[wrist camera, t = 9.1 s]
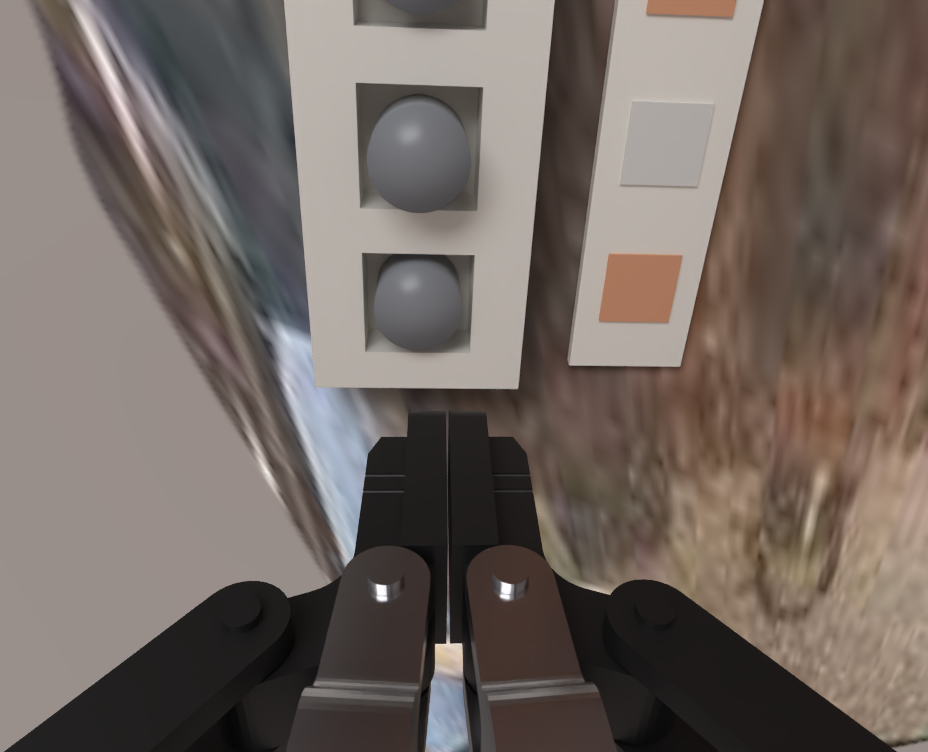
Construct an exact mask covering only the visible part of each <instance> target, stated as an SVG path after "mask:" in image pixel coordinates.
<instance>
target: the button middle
mask: <svg viewBox="0 0 928 752" xmlns="http://www.w3.org/2000/svg"><path fill="white" fill-rule="evenodd" d="M470 167H471V156H470V150H469V146H468V141H467V137H466V133H465V129H464V126H463V124H462V121H461V120H460V118H459V116H458V115H457V113H456V112H455V111H454V110H453V109H452V108H451V107H450V106H449V105H448V104H446V103H445V102H444V101H442V100H440V99H438V98H435V97H433V96H429V95H423V94H413V95H407V96H404V97H401V98H399V99H397V100H395V101H393V102H392V103H391V104H389V105H388V106H387V107H386V108H385V109H384V110H383V111H382V113H381V114H380V116H379V117H378V119H377V121H376V123H375V126H374V129H373V133H372V136H371V140H370V143H369V147H368V152H367V168H368V172H369V176H370V179H371V181H372V183H373V185H374V187H375V189H376V190H377V192H378V193H379V194H380V195H381V196H382V197H383V198H384V199H385V200H386V201H387V202H388V203H390V204H391V205H393V206H394V207H396V208H398V209H401V210H403V211H407V212H411V213H428V212H433V211H436V210H439V209H441V208H443V207H445V206H447V205H448V204H450V203H451V202H452V201H454V200H455V199H456V198H457V197H458V195H459V194H460V193H461V191H462V190H463V188H464V187H465V185H466V183H467V180H468V177H469V173H470Z"/></svg>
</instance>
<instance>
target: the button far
mask: <svg viewBox="0 0 928 752" xmlns="http://www.w3.org/2000/svg"><path fill="white" fill-rule="evenodd" d="M374 318H375V322H376V324H377V326H378V328H379V330H380V331H381V333H382V334H383V335H384V336H385V337H386V338H387V339H388V340H389V341H390V342H392V343H394V344H395V345H397V346H399V347H402V348H405V349H409V350H427V349H432V348H435V347H437V346H440V345H441V344H443V343H445V342H446V341H447V340H449V339H450V338H451V337H452V336H453V334H454V333H455V332H456V330H457V329H458V327H459V324H460V322H461V318H462V302H461V293H460V283H459V277H458V273H457V270H456V268H455V266H454V265H453V263H452V262H451V261H450V260H449V258H447V257H446V256H445V255H443V254H392V255H391V256H390V257H389V258H388V259H387V260H386V261H385V262H384V264H383V265H382V267H381V269H380V272H379V275H378V280H377V287H376V294H375V301H374Z"/></svg>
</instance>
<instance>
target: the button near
mask: <svg viewBox="0 0 928 752" xmlns="http://www.w3.org/2000/svg"><path fill="white" fill-rule="evenodd" d="M387 1H388V2H389V3H390V4H392V5H393V6H395V7H396V8H398V9H400V10H402V11H405V12H408V13H411V14H418V15H428V14H434V13H437V12H440V11H442V10H444V9H446V8H448V7H450V6H451V5H452V4H454V3H455V2H456V1H457V0H387Z"/></svg>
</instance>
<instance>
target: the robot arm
mask: <svg viewBox="0 0 928 752" xmlns="http://www.w3.org/2000/svg"><path fill="white" fill-rule="evenodd" d="M365 474H366V476H365V481H364V488H363V496H362V503H361V510H360V518H359V525H358V533H357V540H356V547H355V553H354V557H353V559H352V560H351V561H350V562H349V563H348V564H347V566H346V567H345V569H344V571H343V573H342V575H341V576H340V577H339V578H337V579H336V580H335V581H333V582H332V583H330V584H329V585H327V586H325V587H322V588H320V589H317V590H314V591H311V592H308V593H304V594H301V595H297V596H293V597H290V598H287V597H286V595H285V594H284V593H283V592H282V591H281V590H280V589H279V588H277V587H276V586H274V585H272V584H269V583H266V582H260V581H246V582H240V583H235V584H232V585H229V586H227V587H225V588H223V589H221V590H219V591H217V592H216V593H214V594H213V595H211V596H210V597H209V598H207V599H206V600H205V601H203V602H202V603H201V604H199V605H198V606H197V607H195V608H194V609H193V610H191V611H190V612H189V613H187V614H186V615H185V616H183V617H182V618H181V619H179V620H178V621H177V622H175V623H174V624H173V625H172V626H170V627H169V628H167V629H166V630H165V631H164V632H162V633H161V634H160V635H158V636H157V637H156V638H154V639H153V640H152V641H150V642H149V643H148V644H146V645H145V646H144V647H142V648H141V649H140V650H138V651H137V652H136V653H134V654H133V655H132V656H130V657H129V658H128V659H126V660H125V661H124V662H122V663H121V664H120V665H118V666H117V667H116V668H114V669H113V670H112V671H111V672H109V673H108V674H106V675H105V676H104V677H103V678H101V679H100V680H99V681H97V682H96V683H95V684H93V685H92V686H91V687H89V688H88V689H87V690H85V691H84V692H83V693H81V694H80V695H79V696H77V697H76V698H75V699H73V700H72V701H71V702H69V703H68V704H67V705H65V706H64V707H63V708H61V709H60V710H59V711H58V712H56V713H55V714H53V715H52V716H51V717H49V718H48V719H47V720H46V721H44V722H43V723H42V724H40V725H39V726H38V727H36V728H35V729H34V730H32V731H31V732H30V733H28V734H27V735H26V736H24V737H23V738H22V739H20V740H19V741H18V742H16V743H15V744H14V745H12V746H11V747H10V748H8V749H7V750H6V751H4V752H425V746H426V735H427V724H428V714H429V703H430V692H431V680H432V678H433V675H434V670H435V644H446V624H447V557H448V540H449V602H450V643H462V645H463V697H464V705H465V714H466V723H467V732H468V740H469V749H470V752H896V751H895V750H894V749H892V748H891V747H890V746H888V745H887V744H886V743H884V742H883V741H882V740H880V739H879V738H878V737H876V736H875V735H873V734H872V733H871V732H869V731H868V730H867V729H865V728H864V727H863V726H861V725H860V724H859V723H857V722H856V721H855V720H853V719H852V718H850V717H849V716H848V715H846V714H845V713H844V712H842V711H841V710H840V709H838V708H837V707H836V706H834V705H833V704H832V703H830V702H829V701H828V700H826V699H825V698H823V697H822V696H821V695H819V694H818V693H817V692H815V691H814V690H813V689H811V688H810V687H809V686H807V685H806V684H805V683H803V682H802V681H800V680H799V679H798V678H796V677H795V676H794V675H792V674H791V673H790V672H788V671H787V670H786V669H784V668H783V667H782V666H780V665H779V664H777V663H776V662H775V661H773V660H772V659H771V658H769V657H768V656H767V655H765V654H764V653H763V652H761V651H760V650H759V649H757V648H756V647H754V646H753V645H752V644H750V643H749V642H748V641H746V640H745V639H744V638H742V637H741V636H740V635H738V634H737V633H736V632H734V631H733V630H732V629H730V628H729V627H727V626H726V625H725V624H723V623H722V622H721V621H719V620H718V619H717V618H715V617H714V616H713V615H711V614H710V613H709V612H707V611H706V610H704V609H703V608H702V607H700V606H699V605H698V604H696V603H695V602H694V601H692V600H691V599H690V598H688V597H687V596H686V595H684V594H683V593H681V592H680V591H678V590H677V589H675V588H673V587H671V586H669V585H667V584H664V583H661V582H658V581H653V580H633V581H629V582H626V583H623V584H622V585H620V586H618V587H617V588H616V589H615V590H614V591H613V592H612V593H611V595H607V594H604V593H600V592H596V591H592V590H589V589H585V588H582V587H579V586H576V585H574V584H572V583H570V582H568V581H566V580H565V579H563V578H562V577H561V576H559V575H558V574H557V573H556V572H555V571H554V570H553V569H552V568H551V567H550V565H549V564H548V562H547V561H546V559H545V556H544V553H543V549H542V543H541V537H540V531H539V525H538V519H537V513H536V507H535V501H534V495H533V493H532V484H531V478H530V472H529V466H528V460H527V454H526V452H525V451H524V450H523V449H522V448H521V446H520V445H519V444H518V443H517V441H516V440H515V439H514V438H513V437H488V427H487V416H486V411H449V431H448V533H447V464H446V411H409V415H408V431H407V437H381V438H380V439H379V441H378V442H377V443H376V445H375V446H374V447H373V448H372V450H371V451H370V452H369V454H368V458H367V466H366V473H365Z"/></svg>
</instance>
